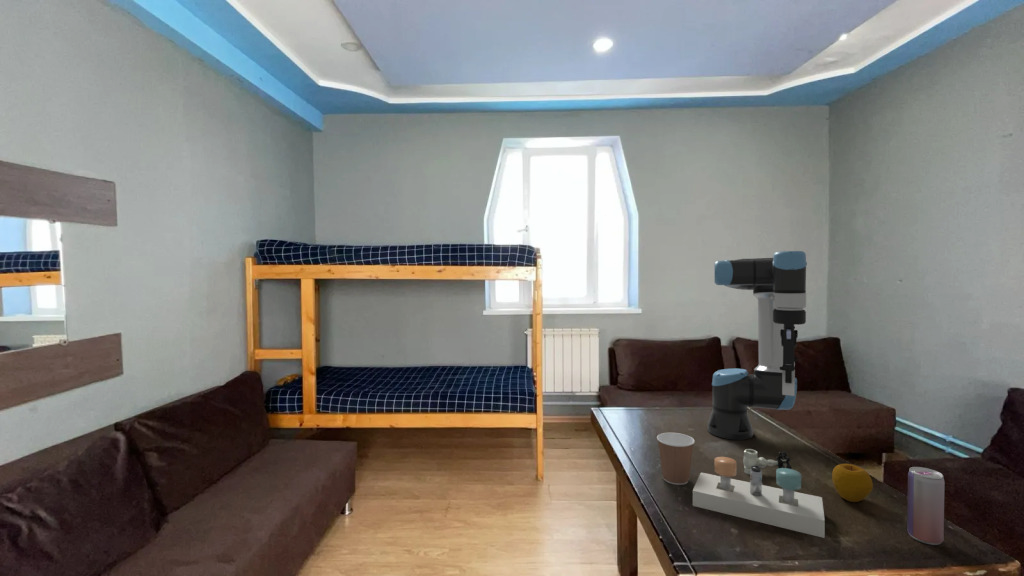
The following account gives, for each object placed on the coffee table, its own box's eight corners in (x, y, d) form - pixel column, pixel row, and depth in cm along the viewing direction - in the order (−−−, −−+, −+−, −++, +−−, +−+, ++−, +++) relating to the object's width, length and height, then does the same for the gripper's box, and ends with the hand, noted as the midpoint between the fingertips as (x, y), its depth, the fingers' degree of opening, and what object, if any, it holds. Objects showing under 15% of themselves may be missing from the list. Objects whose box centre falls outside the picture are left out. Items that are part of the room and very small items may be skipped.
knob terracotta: (716, 480, 121) (716, 455, 121) (737, 485, 119) (737, 459, 118) (713, 489, 117) (713, 462, 117) (735, 494, 114) (735, 466, 114)
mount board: (700, 486, 127) (700, 472, 127) (821, 513, 112) (821, 497, 112) (692, 505, 117) (692, 490, 116) (824, 538, 102) (824, 520, 102)
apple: (881, 505, 115) (881, 471, 114) (852, 509, 113) (852, 474, 113) (850, 489, 123) (851, 457, 123) (823, 492, 122) (824, 460, 122)
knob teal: (776, 493, 114) (776, 466, 114) (800, 498, 111) (801, 470, 111) (775, 502, 110) (775, 474, 109) (801, 508, 107) (801, 479, 106)
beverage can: (900, 531, 104) (901, 467, 103) (923, 529, 104) (925, 465, 104) (925, 547, 98) (927, 479, 97) (951, 545, 98) (952, 477, 98)
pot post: (750, 490, 116) (750, 464, 116) (762, 492, 114) (762, 466, 114) (749, 494, 114) (749, 468, 113) (761, 497, 112) (761, 470, 112)
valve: (747, 477, 132) (791, 479, 130) (748, 455, 131) (791, 456, 130) (739, 468, 138) (780, 469, 137) (739, 446, 138) (780, 447, 136)
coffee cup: (693, 473, 134) (693, 434, 134) (695, 490, 125) (695, 447, 124) (657, 469, 138) (657, 430, 137) (656, 484, 128) (656, 443, 128)
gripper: (774, 304, 133) (774, 378, 134) (770, 312, 113) (770, 398, 114) (805, 305, 129) (804, 381, 130) (806, 313, 109) (806, 402, 110)
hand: (788, 389), depth 122 cm, fingers open, 11 cm apart
